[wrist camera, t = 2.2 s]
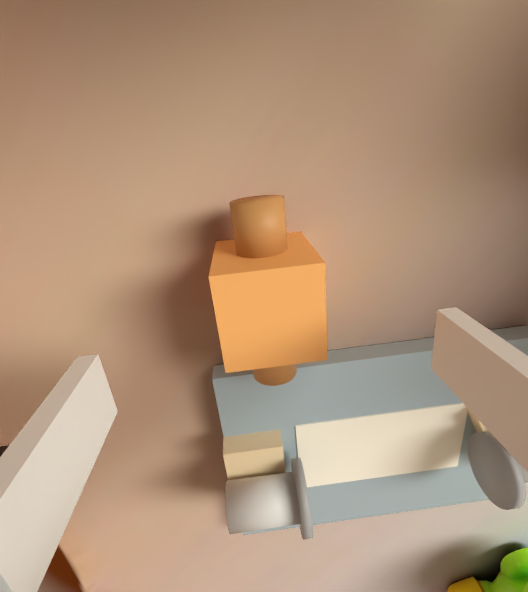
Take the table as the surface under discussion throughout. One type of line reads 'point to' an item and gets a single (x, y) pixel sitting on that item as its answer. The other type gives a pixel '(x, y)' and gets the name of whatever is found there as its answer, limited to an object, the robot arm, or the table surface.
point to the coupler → (268, 294)
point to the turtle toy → (500, 576)
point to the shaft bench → (357, 441)
